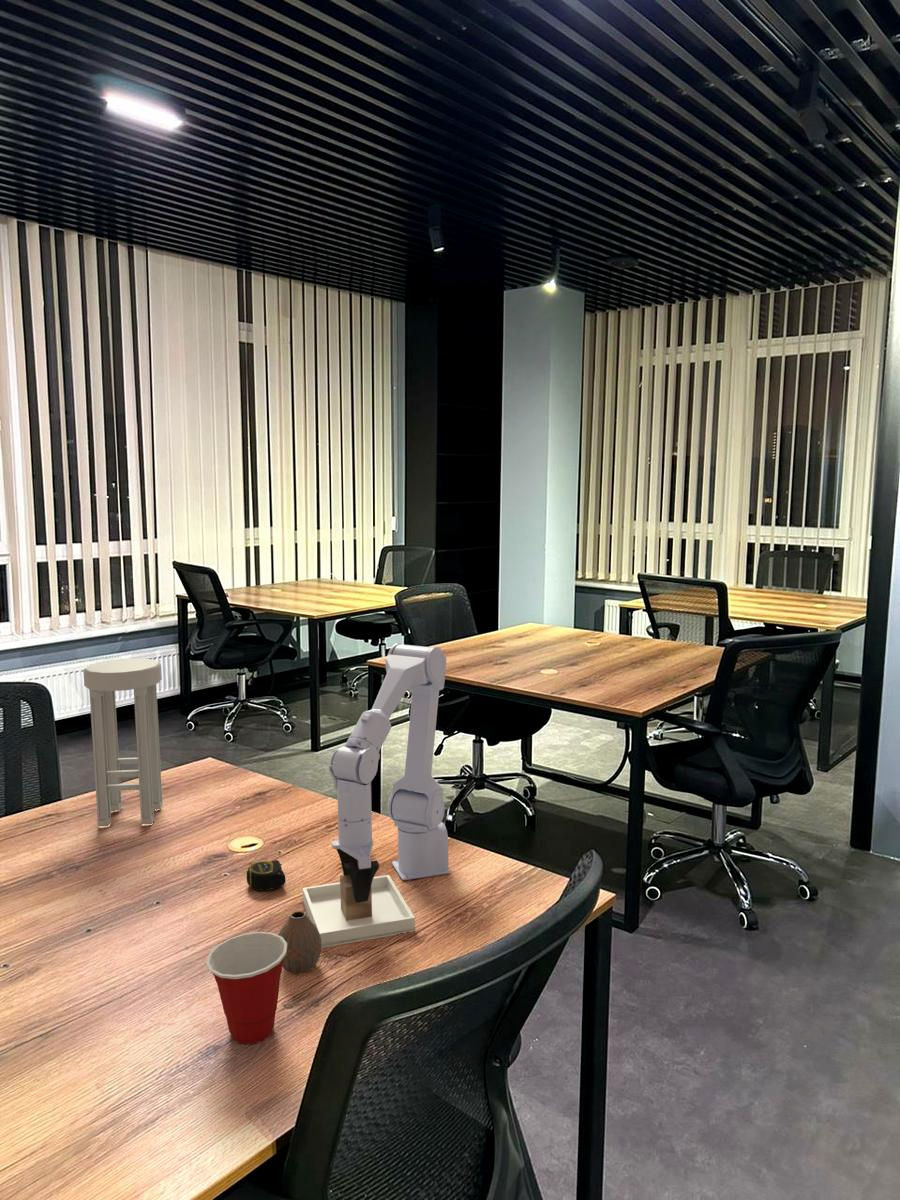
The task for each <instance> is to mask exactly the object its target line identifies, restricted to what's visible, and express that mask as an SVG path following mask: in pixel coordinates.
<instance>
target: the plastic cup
mask: <svg viewBox="0 0 900 1200" xmlns="http://www.w3.org/2000/svg"><path fill="white" fill-rule="evenodd" d="M286 950H287V943H286V941H285V940H284V939H283V937H281V936H279V934H276V933H274V932H267V931H266V932H264V931H254V932H248V933H242V934H239V935H236V936H234V937H230V938H228V939H226V940H225V941H223V942H221V943H219V944H217V945H216V946H214V948H213V949H212V950H211V951H210V952H209V954H208V955H207V957H206V958H207V959H206V962H205V964H206V967H207V968H208V969H209V971H210V973H211V974H212V976H213V977H214V979H215V982H216V985H217V990H218V993H219V997H220V1000H221V1001H220V1002H221V1005H222V1008H223V1013H224V1015H225V1017H226V1022H227V1023H226V1024H227V1027H228V1032H229V1035H230V1036H231V1038H232V1041H234V1042H236V1043H238V1044H242V1045H255V1044H258V1043H260V1042H263V1041H265V1040H267V1039H269V1037H270V1036H271V1034H272V1033H273V1030H274V1026H275V1020H276V1019H275V1018H276V1014H277V1013H276V1011H277V1010H278V1003H279V1002H278V1001H279V992H280V986H281V985H280V984H281V975H282V972H283V967H282V966H283V960H284V957H285V955H286Z"/></svg>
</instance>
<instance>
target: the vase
mask: <svg viewBox="0 0 900 1200" xmlns="http://www.w3.org/2000/svg"><path fill="white" fill-rule="evenodd" d="M278 935H279V936H281V937H283V939H284V940H285V941H286V943H287V950H286V955H285V957H284V960H283V966H282V969H283V970H285V971H286V972H288V973H289V974H293V975H303V974H307V973H308V972H310V971H311V970H312V969H313V968H315V966H316V965H317V964H318V963H319V959H320V957H321V953H322V948H321V947H322V943H321V936H320V933H319V931H318V929H317V927H316V926H315V925H314V923H313V922H312V921H311V920H310V919H309V917H308V914H307V912H305V911H302V910H296V911H295V910H294V911H293V912H291V913H290V914H289V917H288V918H287V921H286V922H285V923H284V924H283V925H282V927H281V928H280V930H279V933H278Z"/></svg>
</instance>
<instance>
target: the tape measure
mask: <svg viewBox="0 0 900 1200" xmlns="http://www.w3.org/2000/svg"><path fill="white" fill-rule="evenodd" d="M282 865H283V863H280V861H279V860H277V859H275V860H272V861H267V860H262V861H257V862H255V863H252V864H250V866H249V867H248V869H247V870H246V883H247V884H248V886H249V887H250V888H251V889H252V890H254V891H256V890H257V891H269V890H272V889H275V888H276V889H277V888H280V887H283V886H285V884H286V874H285V873H284V872H285V871H283V867H282Z"/></svg>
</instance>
